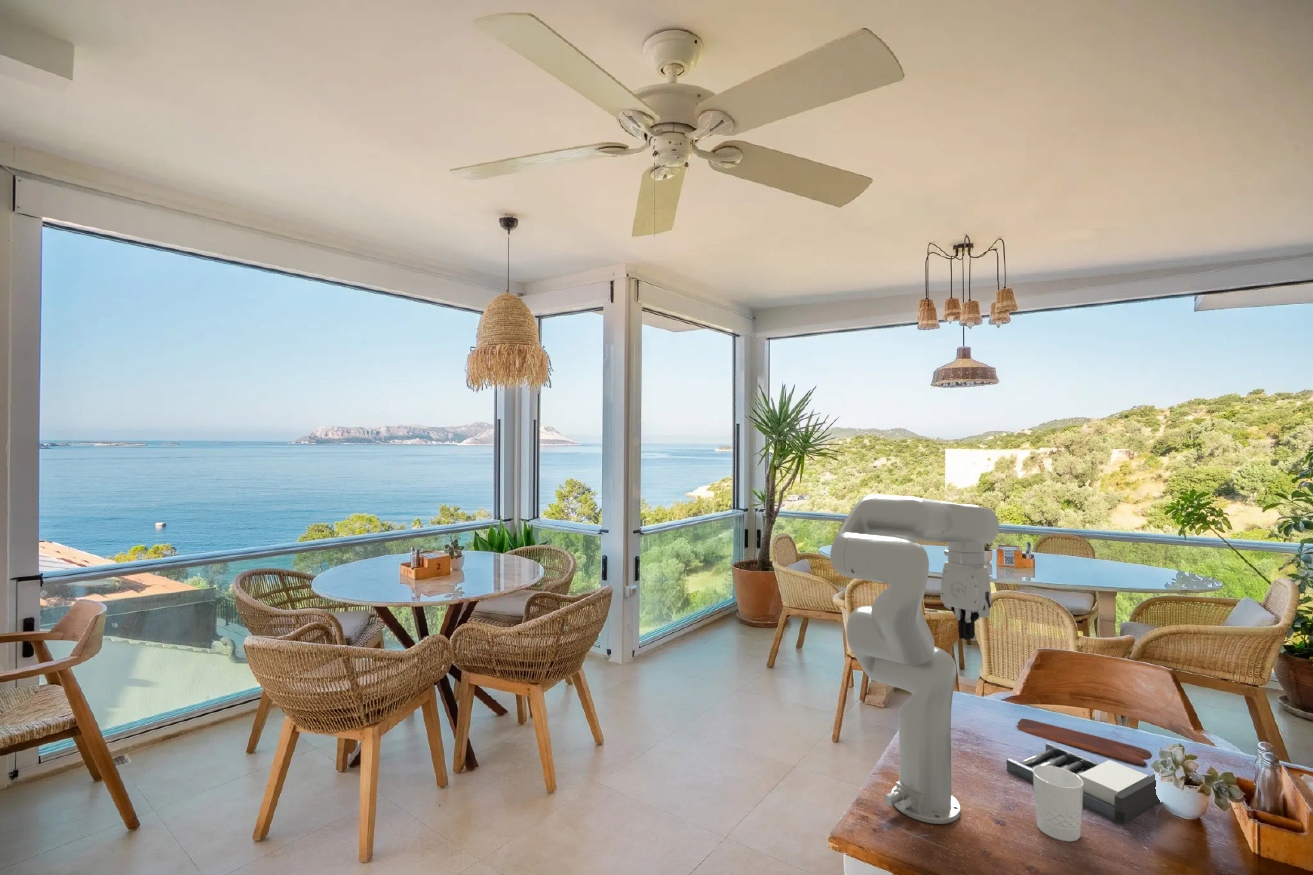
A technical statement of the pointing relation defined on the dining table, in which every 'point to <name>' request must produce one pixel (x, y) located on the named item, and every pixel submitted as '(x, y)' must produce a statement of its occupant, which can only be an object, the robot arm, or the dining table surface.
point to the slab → (1109, 780)
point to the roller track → (1126, 801)
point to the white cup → (1058, 802)
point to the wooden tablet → (1086, 742)
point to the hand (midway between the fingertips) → (966, 637)
